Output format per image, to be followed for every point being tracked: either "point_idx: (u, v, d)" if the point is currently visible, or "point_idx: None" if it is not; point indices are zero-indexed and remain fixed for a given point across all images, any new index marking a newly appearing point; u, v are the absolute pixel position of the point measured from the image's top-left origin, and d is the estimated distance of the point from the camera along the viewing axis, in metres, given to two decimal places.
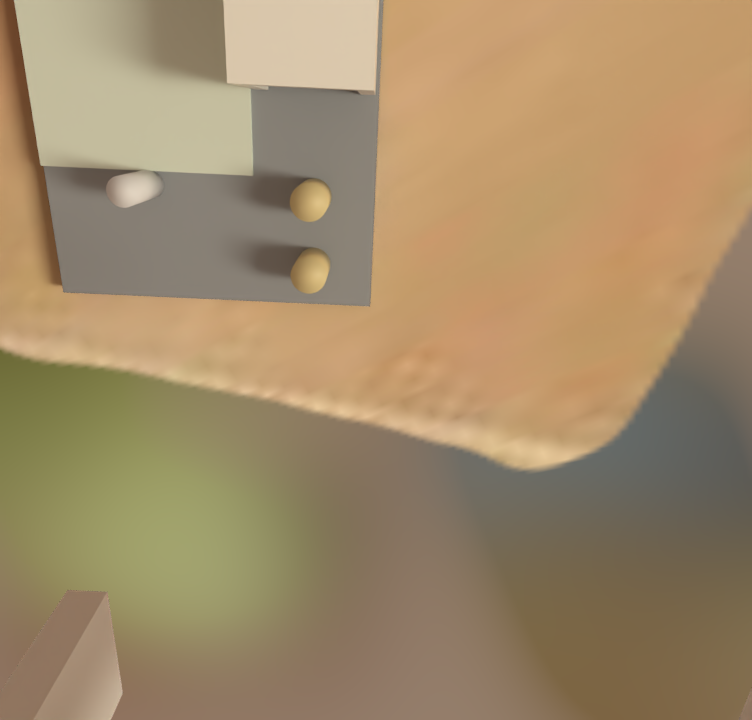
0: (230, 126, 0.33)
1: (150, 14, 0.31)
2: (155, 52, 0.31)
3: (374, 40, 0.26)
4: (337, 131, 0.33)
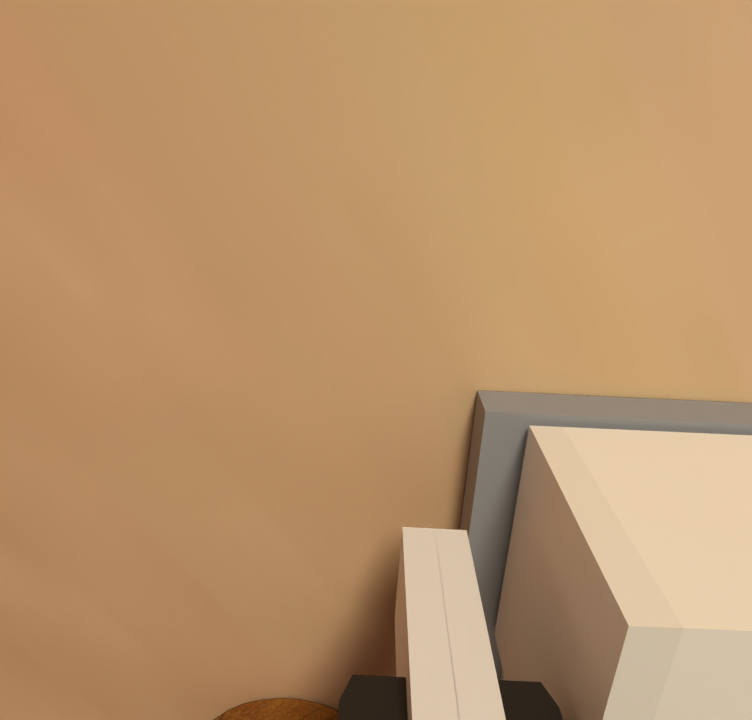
0: None
1: None
2: None
3: None
4: None
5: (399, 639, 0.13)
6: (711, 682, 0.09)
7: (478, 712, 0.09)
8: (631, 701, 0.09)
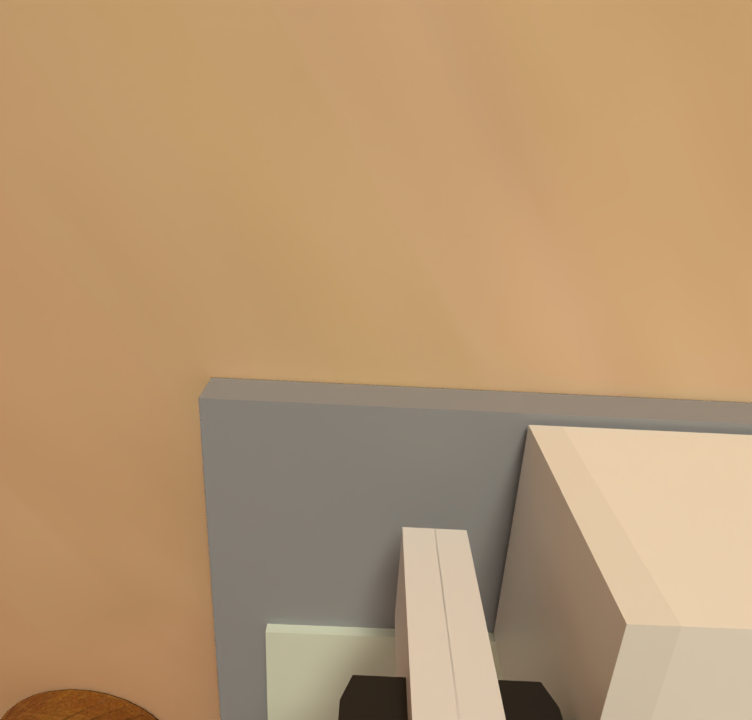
0: None
1: None
2: None
3: None
4: None
5: (399, 639, 0.13)
6: (709, 680, 0.09)
7: (478, 712, 0.09)
8: (629, 699, 0.09)
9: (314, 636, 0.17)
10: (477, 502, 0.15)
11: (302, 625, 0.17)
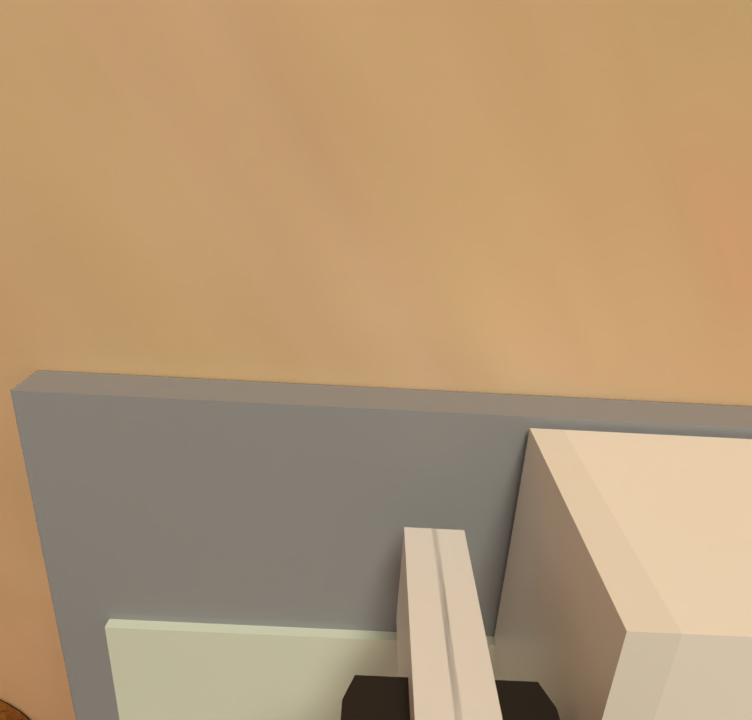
0: None
1: None
2: None
3: None
4: (461, 493, 0.15)
5: (401, 639, 0.13)
6: (710, 687, 0.09)
7: (475, 712, 0.09)
8: (629, 707, 0.09)
9: (155, 631, 0.17)
10: (304, 497, 0.15)
11: (144, 620, 0.17)
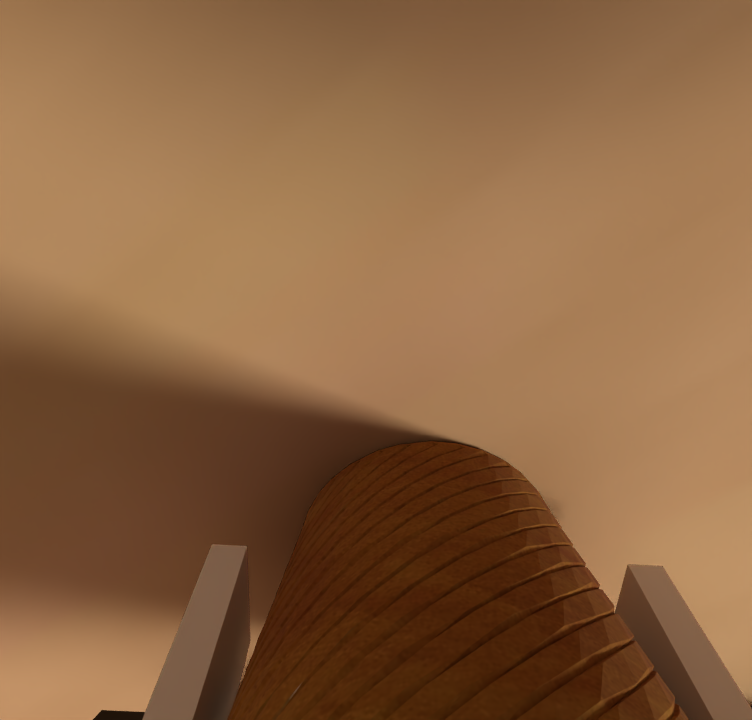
0: None
1: None
2: None
3: None
4: None
5: None
6: None
7: None
8: None
9: None
10: None
11: None
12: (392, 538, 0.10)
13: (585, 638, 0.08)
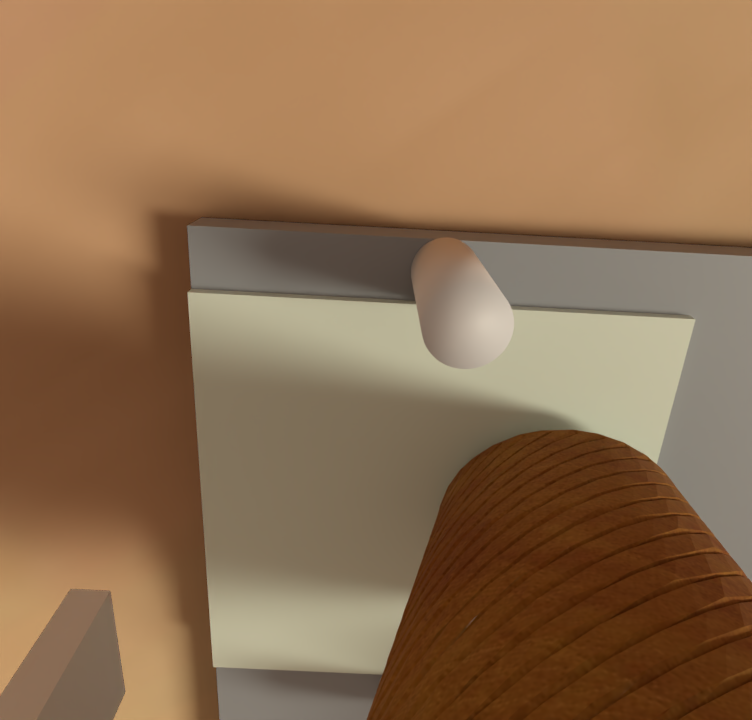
0: None
1: (465, 461, 0.16)
2: None
3: None
4: None
5: None
6: None
7: None
8: None
9: (673, 370, 0.15)
10: None
11: (678, 353, 0.15)
12: (547, 508, 0.11)
13: (745, 611, 0.09)
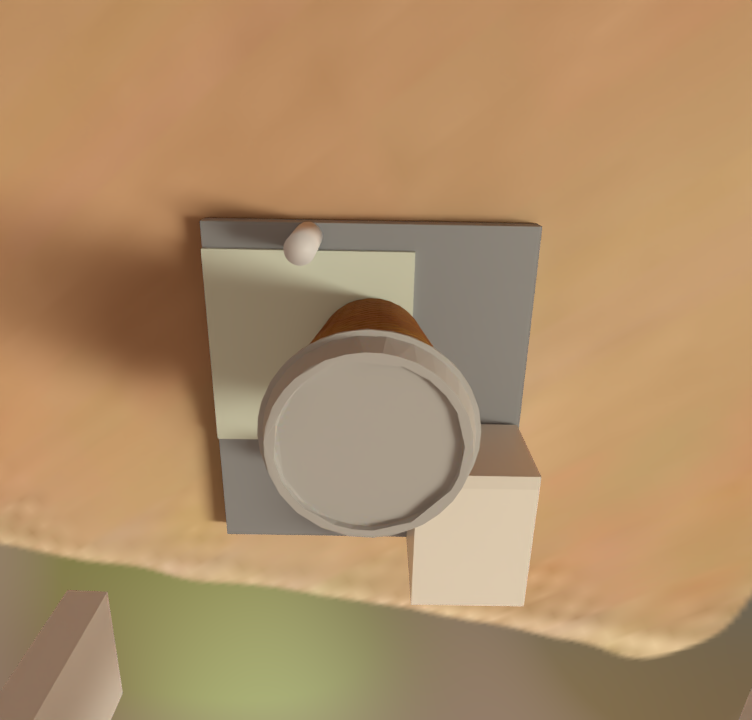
0: None
1: None
2: None
3: (526, 579, 0.34)
4: (485, 403, 0.37)
5: None
6: (518, 500, 0.32)
7: None
8: (512, 482, 0.32)
9: (411, 276, 0.34)
10: (484, 343, 0.36)
11: (413, 268, 0.34)
12: (349, 313, 0.31)
13: (402, 324, 0.29)
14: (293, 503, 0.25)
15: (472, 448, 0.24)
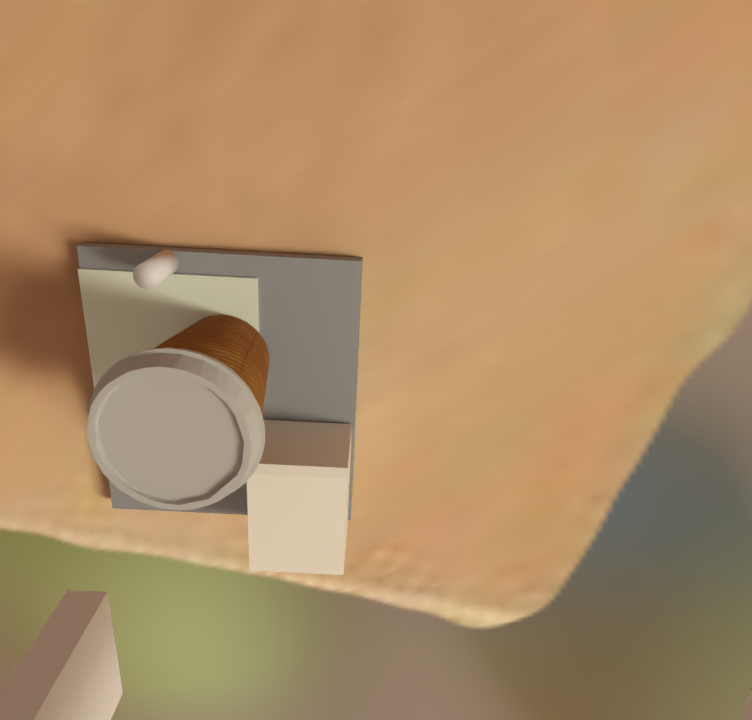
0: None
1: None
2: None
3: (343, 552, 0.41)
4: (324, 405, 0.44)
5: None
6: (330, 486, 0.39)
7: None
8: (324, 471, 0.39)
9: (255, 297, 0.41)
10: (320, 355, 0.42)
11: (257, 291, 0.41)
12: (190, 329, 0.37)
13: (224, 341, 0.35)
14: (114, 481, 0.32)
15: (250, 443, 0.31)
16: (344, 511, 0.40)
